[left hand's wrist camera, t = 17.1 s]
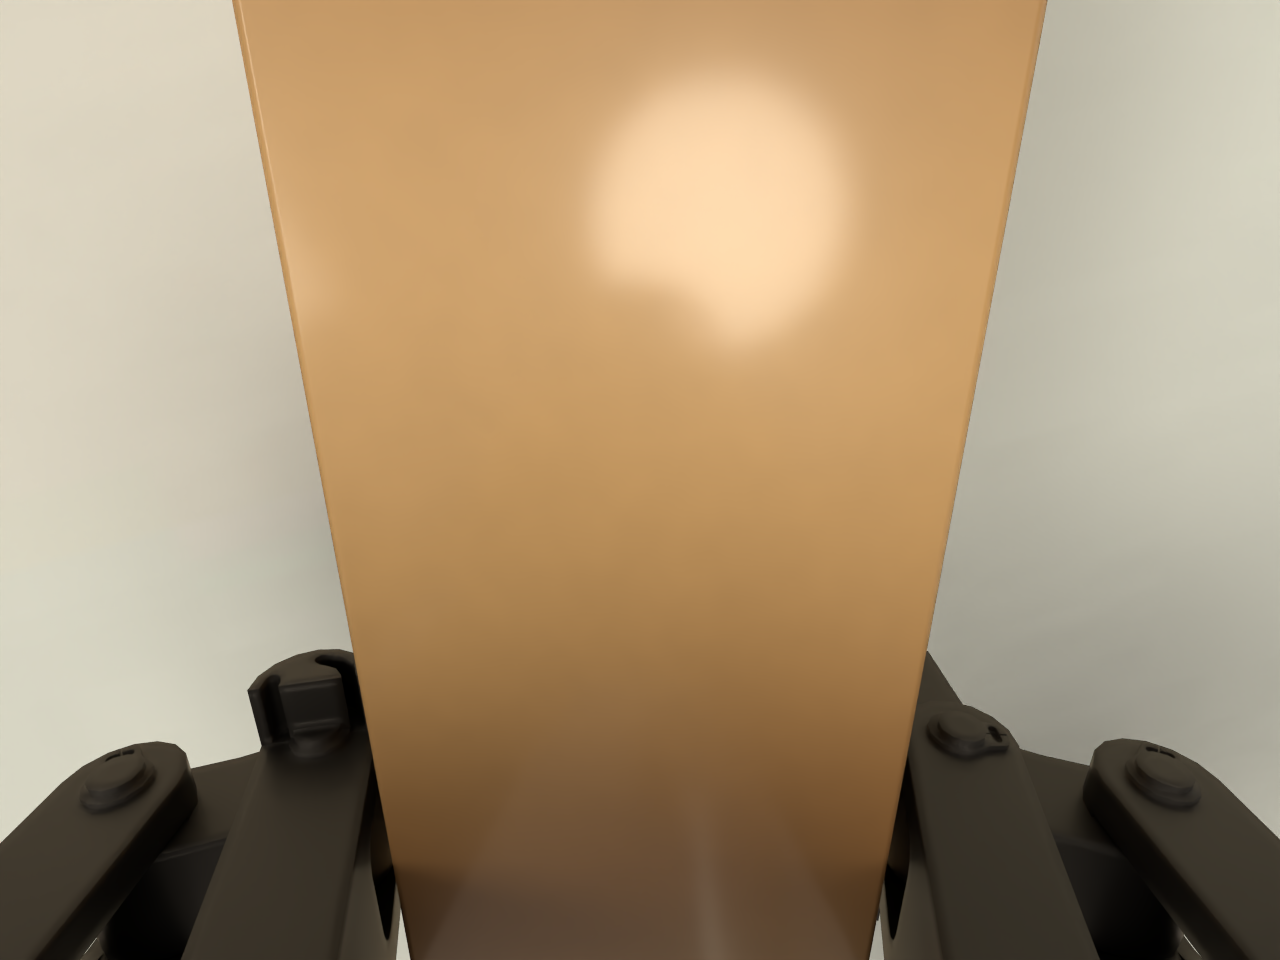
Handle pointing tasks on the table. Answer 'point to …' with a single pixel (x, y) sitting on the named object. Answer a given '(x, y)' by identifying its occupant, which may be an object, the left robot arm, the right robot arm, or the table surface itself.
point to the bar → (639, 435)
